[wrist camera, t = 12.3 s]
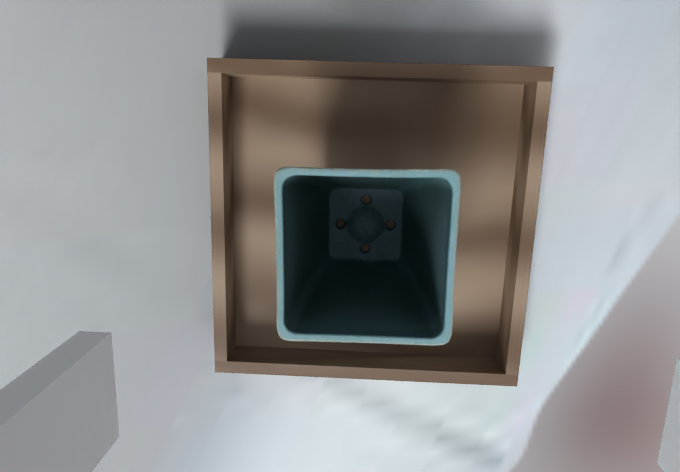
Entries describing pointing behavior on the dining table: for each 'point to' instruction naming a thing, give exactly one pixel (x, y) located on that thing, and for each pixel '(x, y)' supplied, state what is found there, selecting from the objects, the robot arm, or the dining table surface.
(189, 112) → the dining table surface
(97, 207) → the dining table surface
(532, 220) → the box
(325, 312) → the flower pot
